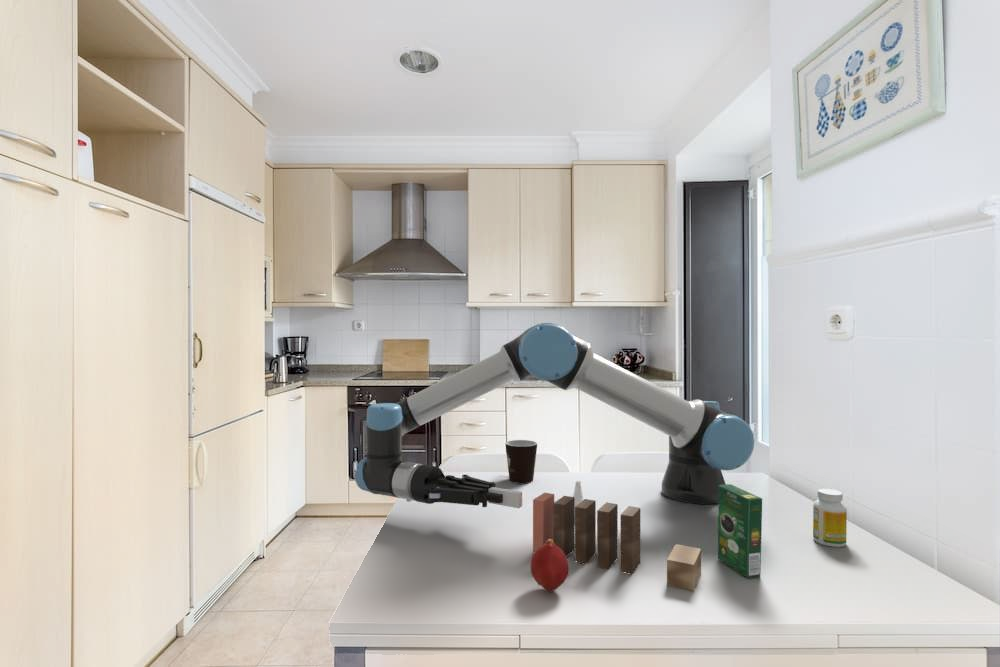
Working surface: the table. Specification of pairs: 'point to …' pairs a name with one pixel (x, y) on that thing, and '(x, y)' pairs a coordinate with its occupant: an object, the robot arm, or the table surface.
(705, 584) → the table surface
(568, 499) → the domino
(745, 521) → the coffee box
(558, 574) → the onion
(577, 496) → the garlic bulb
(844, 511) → the supplement bottle
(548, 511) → the domino
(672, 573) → the end block
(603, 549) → the domino
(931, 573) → the table surface
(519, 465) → the coffee mug
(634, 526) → the domino
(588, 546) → the domino
